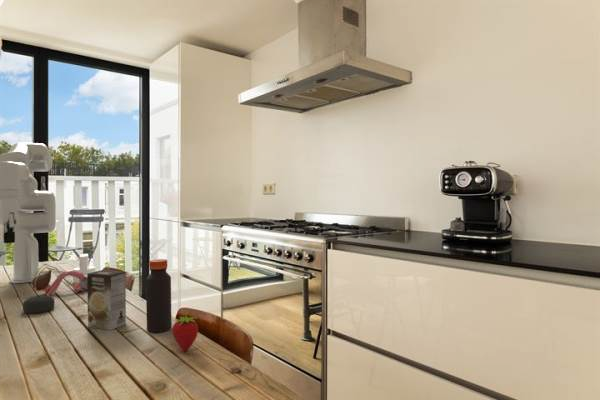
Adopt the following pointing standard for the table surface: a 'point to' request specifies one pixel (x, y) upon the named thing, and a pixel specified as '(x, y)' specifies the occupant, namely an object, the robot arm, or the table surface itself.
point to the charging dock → (83, 282)
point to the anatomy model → (44, 279)
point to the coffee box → (106, 299)
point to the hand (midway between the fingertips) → (9, 242)
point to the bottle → (158, 297)
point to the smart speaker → (38, 305)
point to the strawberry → (185, 332)
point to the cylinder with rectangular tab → (83, 266)
